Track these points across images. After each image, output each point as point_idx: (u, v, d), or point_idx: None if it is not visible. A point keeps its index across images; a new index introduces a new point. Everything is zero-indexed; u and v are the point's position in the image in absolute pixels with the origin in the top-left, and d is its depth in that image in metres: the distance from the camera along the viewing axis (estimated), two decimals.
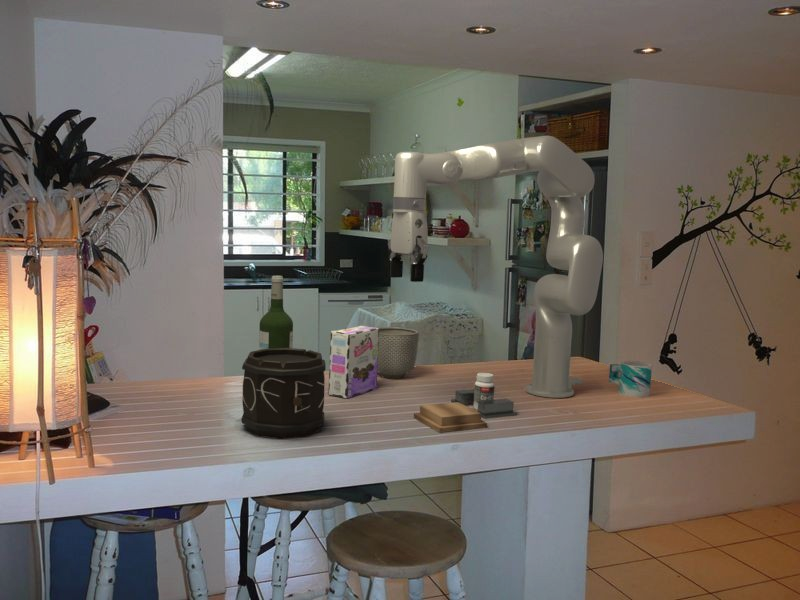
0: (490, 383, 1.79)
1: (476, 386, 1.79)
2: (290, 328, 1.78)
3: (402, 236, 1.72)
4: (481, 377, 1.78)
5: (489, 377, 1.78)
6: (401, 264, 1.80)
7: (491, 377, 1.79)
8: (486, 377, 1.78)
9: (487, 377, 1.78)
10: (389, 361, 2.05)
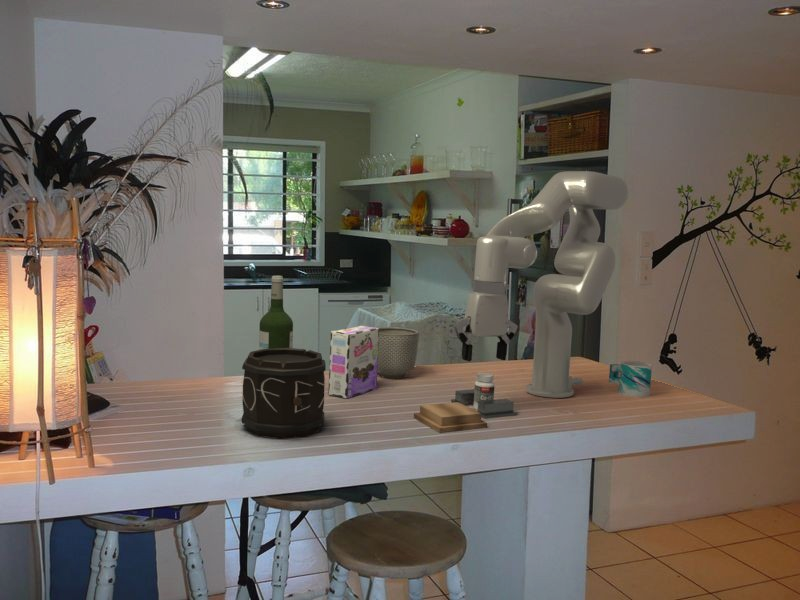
0: (490, 383, 1.79)
1: (476, 386, 1.79)
2: (290, 328, 1.78)
3: (498, 319, 1.77)
4: (481, 377, 1.78)
5: (489, 377, 1.78)
6: None
7: (491, 377, 1.79)
8: (486, 377, 1.78)
9: (487, 377, 1.78)
10: (389, 361, 2.05)
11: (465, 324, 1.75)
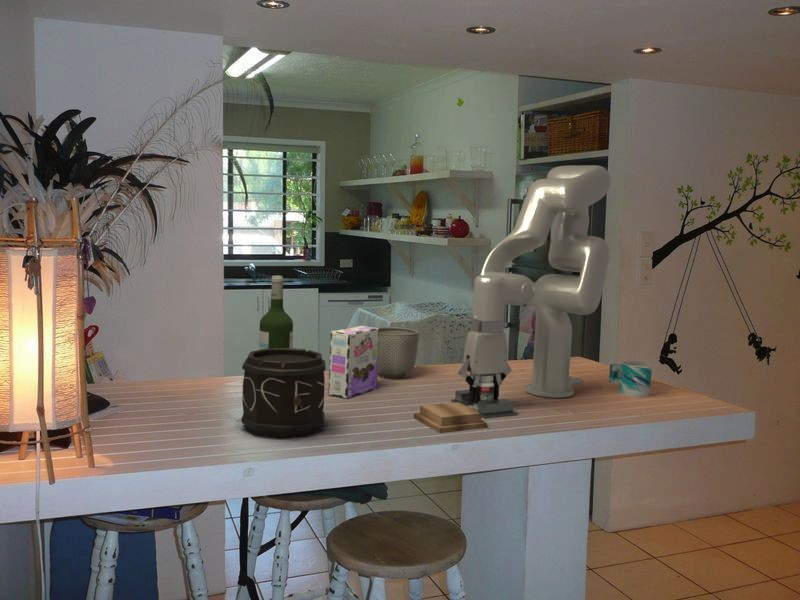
0: (490, 383, 1.79)
1: None
2: (290, 328, 1.78)
3: (497, 357, 1.78)
4: (481, 377, 1.78)
5: (489, 377, 1.78)
6: None
7: (491, 377, 1.79)
8: (486, 377, 1.78)
9: (487, 377, 1.78)
10: (389, 361, 2.05)
11: (468, 367, 1.77)
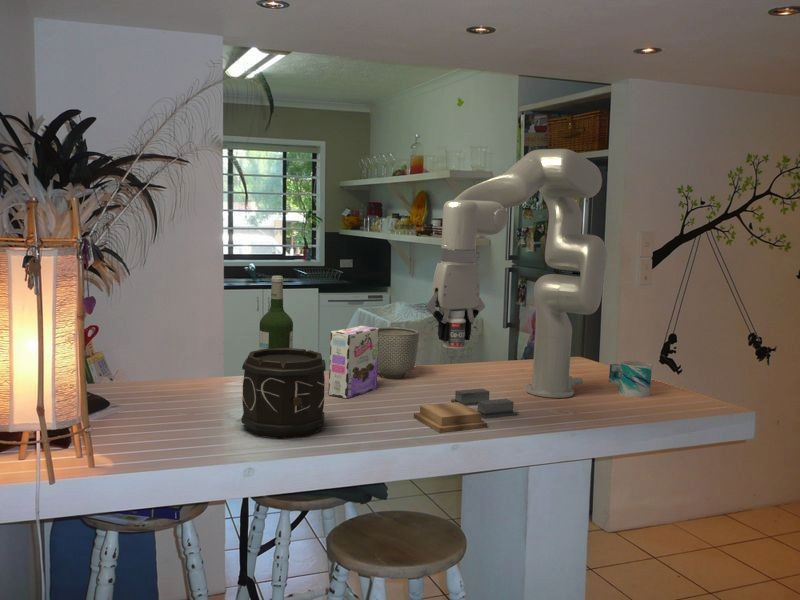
0: (461, 319, 1.63)
1: None
2: (290, 328, 1.78)
3: (468, 290, 1.63)
4: (451, 312, 1.63)
5: (460, 312, 1.63)
6: None
7: (462, 312, 1.63)
8: (457, 312, 1.63)
9: (457, 312, 1.63)
10: (389, 361, 2.05)
11: (436, 301, 1.61)
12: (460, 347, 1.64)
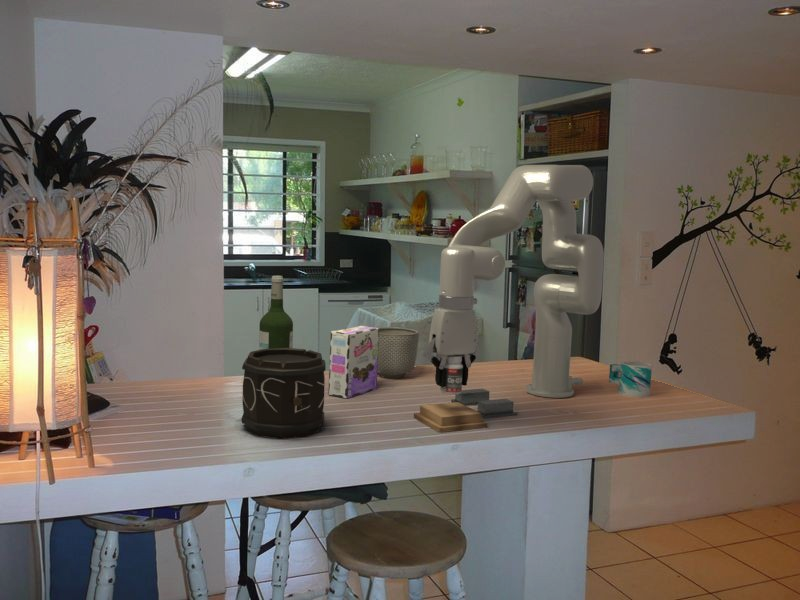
0: (458, 364, 1.64)
1: None
2: (290, 328, 1.78)
3: (466, 336, 1.64)
4: (448, 358, 1.64)
5: (457, 358, 1.64)
6: None
7: (459, 358, 1.64)
8: (454, 358, 1.64)
9: (455, 358, 1.64)
10: (389, 361, 2.05)
11: (433, 347, 1.62)
12: (457, 393, 1.65)
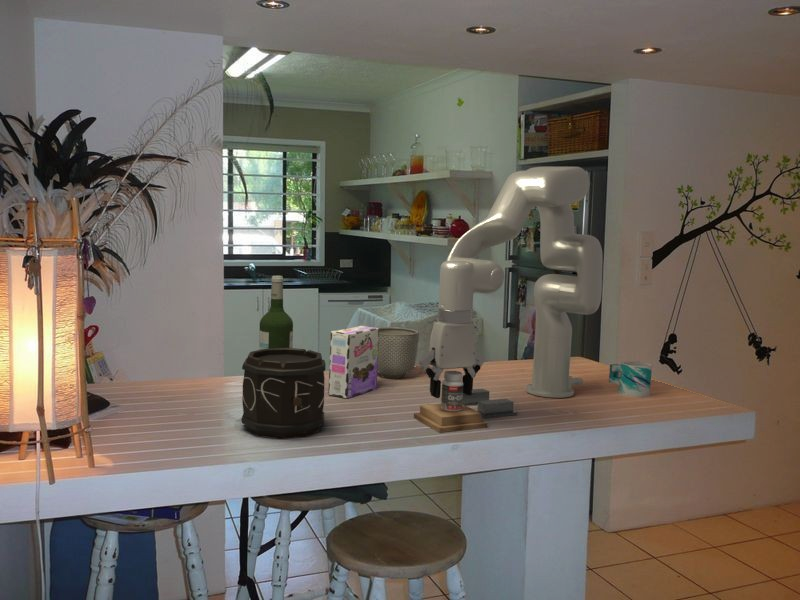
0: (458, 382, 1.65)
1: (443, 385, 1.66)
2: (290, 328, 1.78)
3: (465, 349, 1.64)
4: (449, 375, 1.65)
5: (457, 375, 1.65)
6: None
7: (459, 375, 1.65)
8: (454, 376, 1.65)
9: (455, 375, 1.65)
10: (389, 361, 2.05)
11: (430, 358, 1.63)
12: (458, 410, 1.65)
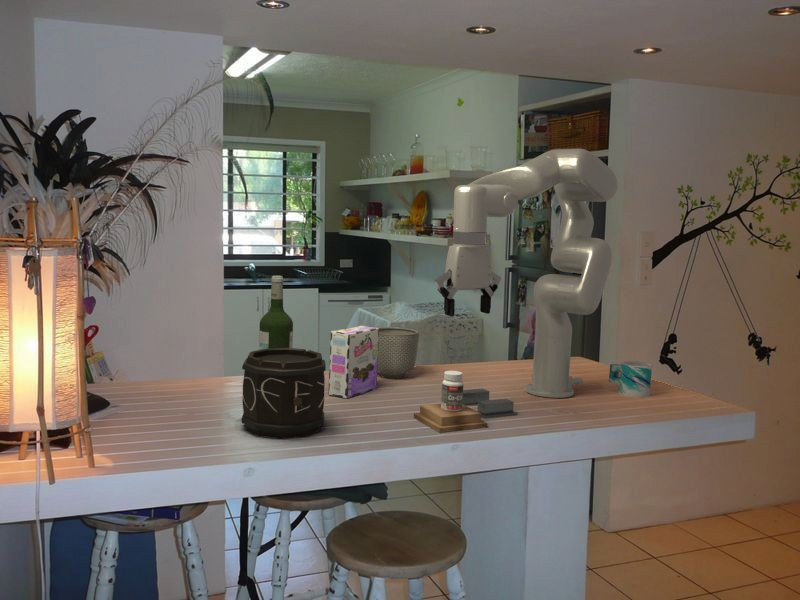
0: (458, 382, 1.65)
1: (443, 385, 1.66)
2: (290, 328, 1.78)
3: (480, 271, 1.70)
4: (449, 375, 1.65)
5: (457, 375, 1.65)
6: None
7: (459, 375, 1.65)
8: (454, 376, 1.65)
9: (455, 375, 1.65)
10: (389, 361, 2.05)
11: (446, 278, 1.68)
12: (458, 410, 1.65)
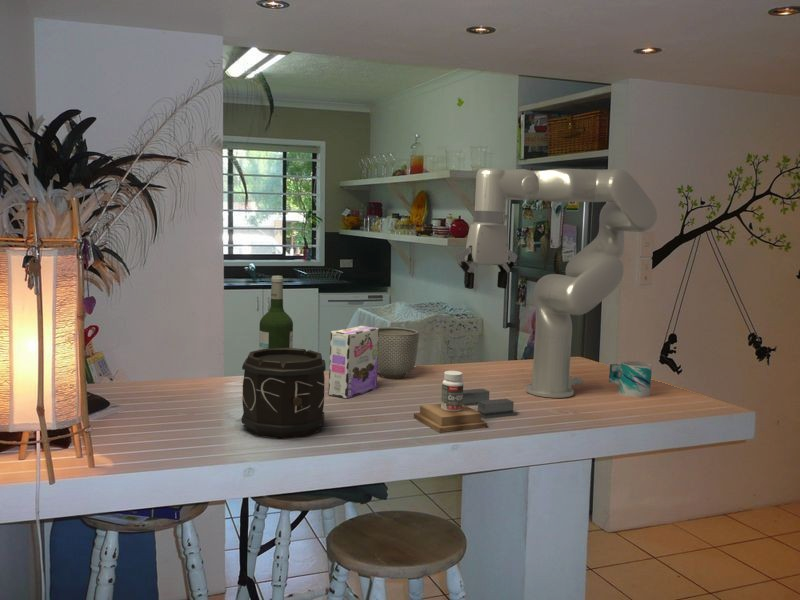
0: (458, 382, 1.65)
1: (443, 385, 1.66)
2: (290, 328, 1.78)
3: (499, 248, 1.84)
4: (449, 375, 1.65)
5: (457, 375, 1.65)
6: None
7: (459, 375, 1.65)
8: (454, 376, 1.65)
9: (455, 375, 1.65)
10: (389, 361, 2.05)
11: (467, 253, 1.82)
12: (458, 410, 1.65)
